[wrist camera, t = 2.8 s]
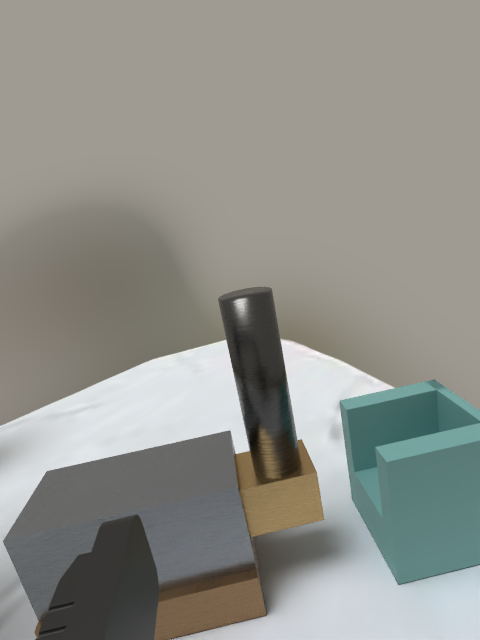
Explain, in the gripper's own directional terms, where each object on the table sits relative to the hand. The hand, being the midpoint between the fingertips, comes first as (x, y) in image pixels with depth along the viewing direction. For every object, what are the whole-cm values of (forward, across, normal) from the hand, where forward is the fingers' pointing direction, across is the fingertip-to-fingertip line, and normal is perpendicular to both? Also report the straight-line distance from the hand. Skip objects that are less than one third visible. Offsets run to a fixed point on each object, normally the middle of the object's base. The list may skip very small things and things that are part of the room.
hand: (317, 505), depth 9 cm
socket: (+11, -8, +13) cm, 18 cm away
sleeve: (+10, +8, +13) cm, 18 cm away
